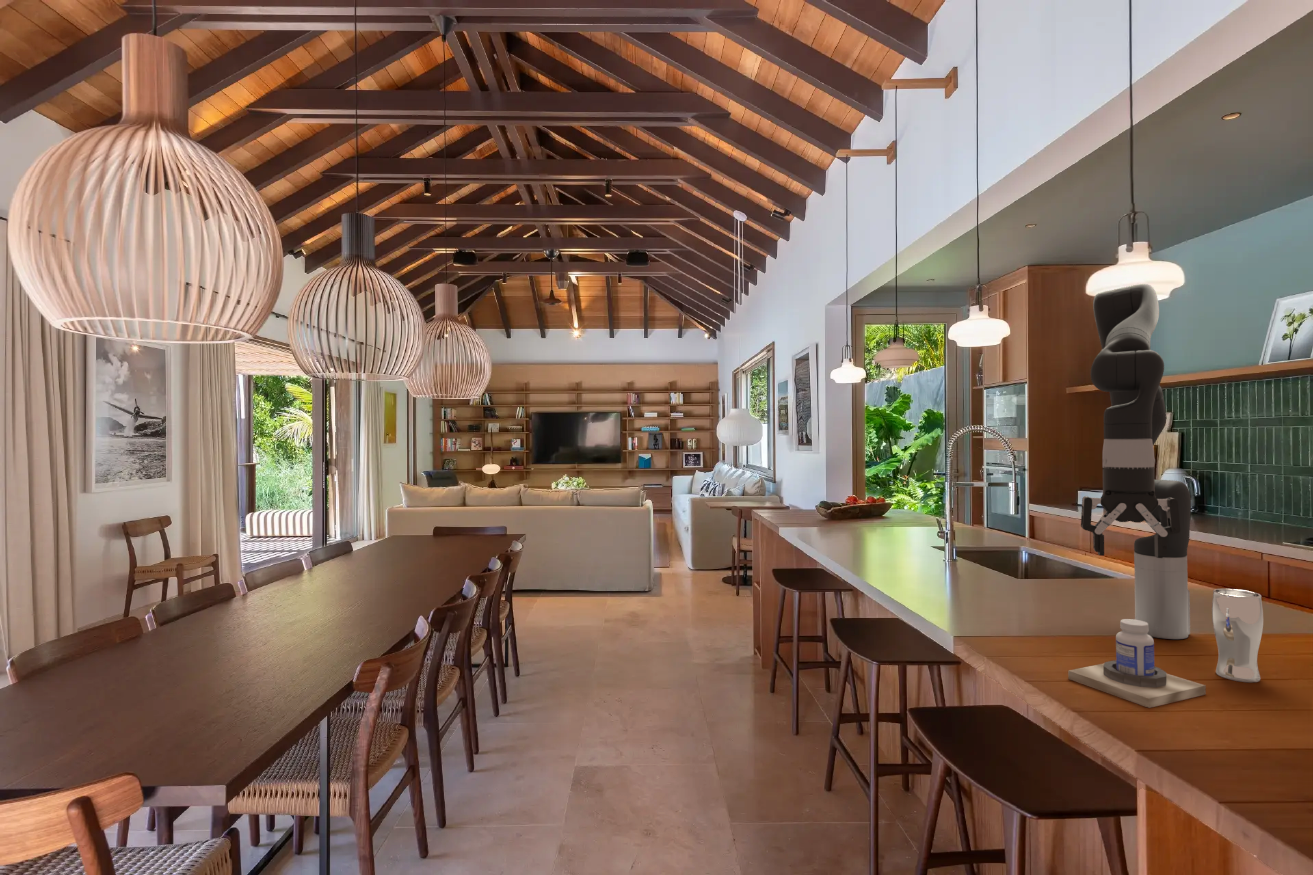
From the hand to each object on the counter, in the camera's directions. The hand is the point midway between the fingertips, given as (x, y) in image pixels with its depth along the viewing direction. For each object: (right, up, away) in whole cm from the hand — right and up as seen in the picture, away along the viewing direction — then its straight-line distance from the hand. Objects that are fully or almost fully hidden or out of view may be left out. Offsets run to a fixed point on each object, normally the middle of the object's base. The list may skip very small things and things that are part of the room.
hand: (1129, 556), depth 120 cm
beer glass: (+20, -22, +1) cm, 30 cm away
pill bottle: (-1, -21, -3) cm, 21 cm away
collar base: (-1, -22, -2) cm, 22 cm away
